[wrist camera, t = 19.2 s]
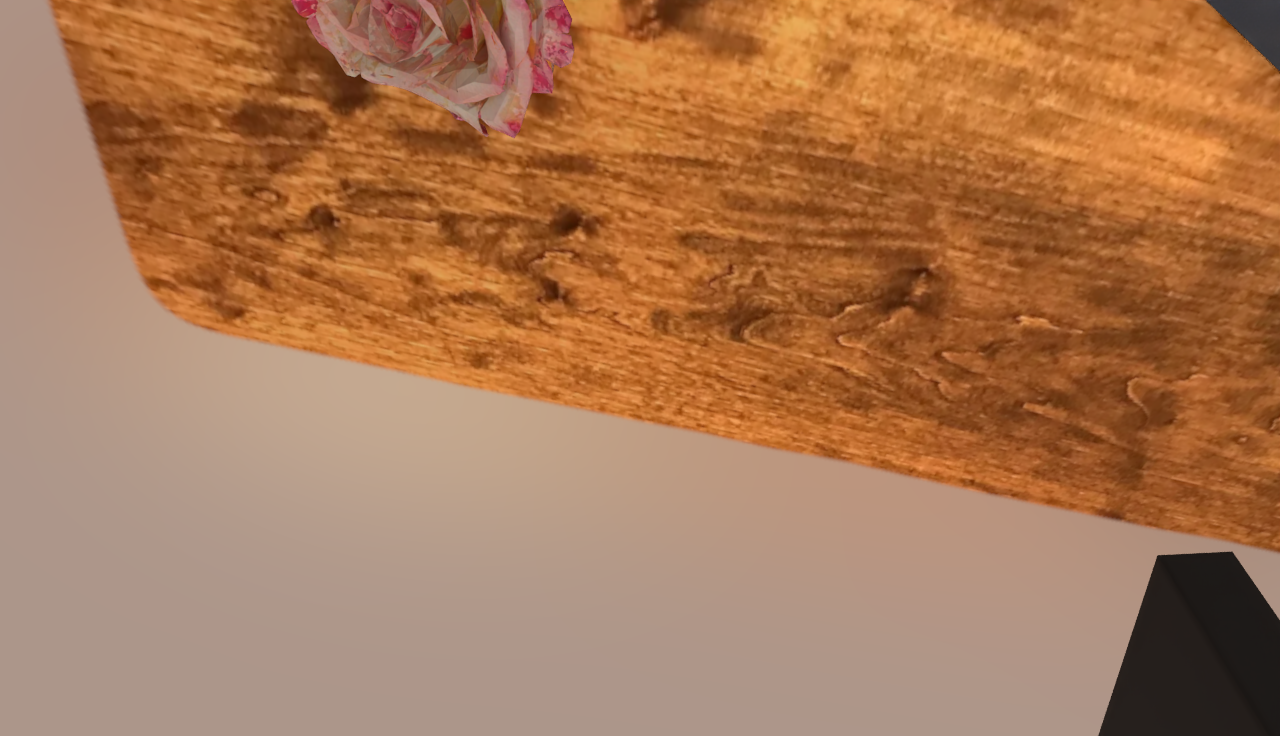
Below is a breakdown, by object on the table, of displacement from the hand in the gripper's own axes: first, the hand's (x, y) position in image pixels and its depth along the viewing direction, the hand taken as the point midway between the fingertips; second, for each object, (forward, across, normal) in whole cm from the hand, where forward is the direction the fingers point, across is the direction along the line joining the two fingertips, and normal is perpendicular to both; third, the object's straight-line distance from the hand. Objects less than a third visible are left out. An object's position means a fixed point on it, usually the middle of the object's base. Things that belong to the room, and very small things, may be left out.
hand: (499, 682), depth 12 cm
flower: (+32, -3, -2) cm, 32 cm away
